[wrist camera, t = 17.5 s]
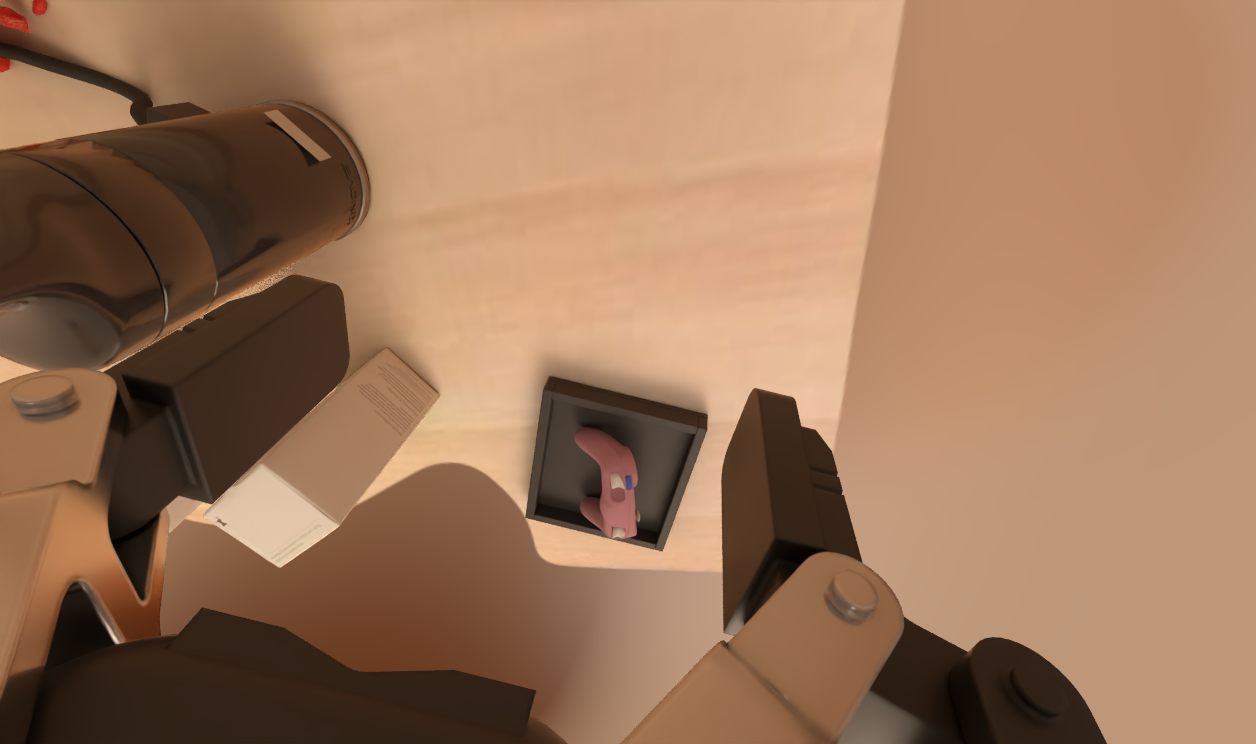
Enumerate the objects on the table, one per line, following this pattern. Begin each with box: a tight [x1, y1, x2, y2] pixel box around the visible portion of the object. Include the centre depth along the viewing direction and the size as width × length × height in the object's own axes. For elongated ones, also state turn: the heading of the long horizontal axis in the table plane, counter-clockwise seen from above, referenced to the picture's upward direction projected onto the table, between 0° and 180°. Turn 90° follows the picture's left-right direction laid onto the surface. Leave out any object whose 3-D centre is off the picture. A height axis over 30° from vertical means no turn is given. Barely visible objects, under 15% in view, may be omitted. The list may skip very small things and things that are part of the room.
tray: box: [526, 376, 708, 551], centre depth 49 cm, size 14×16×2 cm
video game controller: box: [575, 427, 640, 539], centre depth 47 cm, size 10×5×7 cm, turn 1°
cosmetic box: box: [203, 348, 440, 568], centre depth 42 cm, size 8×7×16 cm
